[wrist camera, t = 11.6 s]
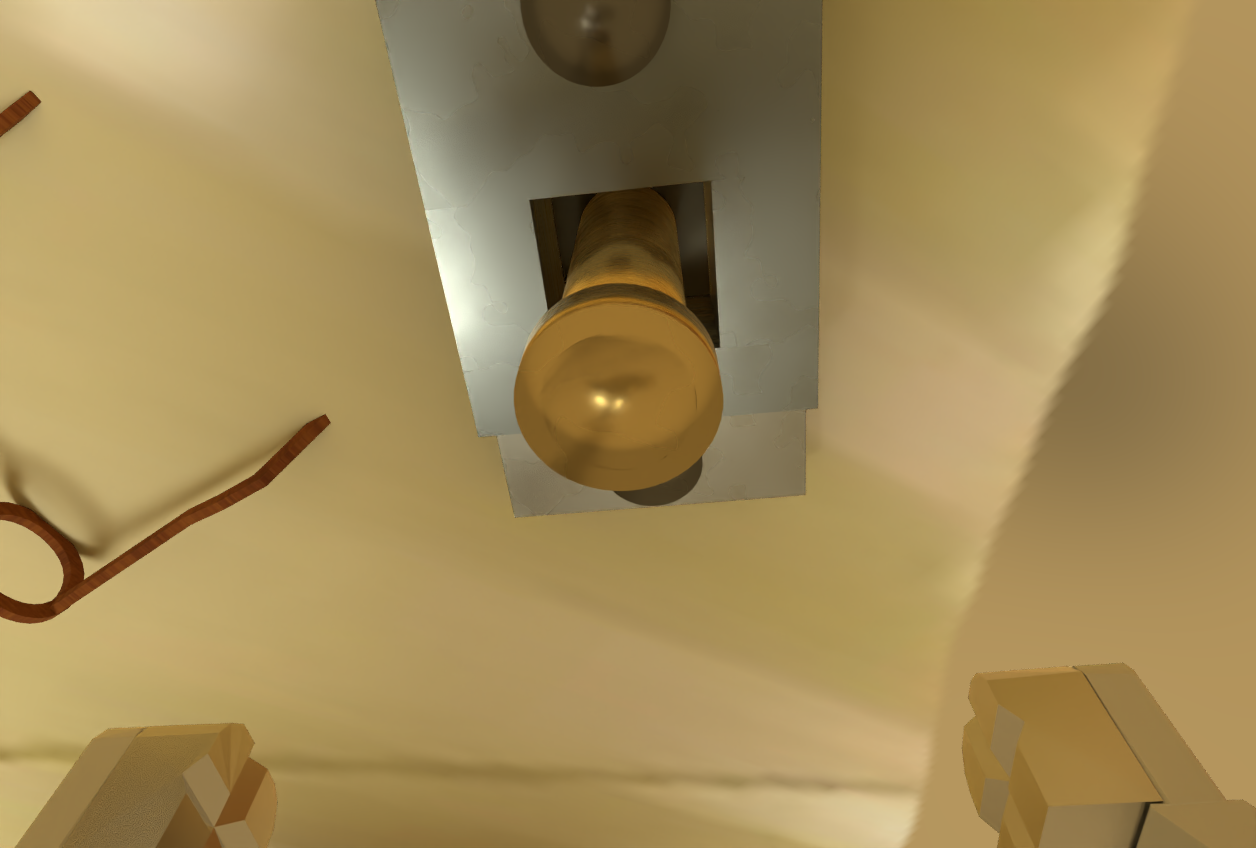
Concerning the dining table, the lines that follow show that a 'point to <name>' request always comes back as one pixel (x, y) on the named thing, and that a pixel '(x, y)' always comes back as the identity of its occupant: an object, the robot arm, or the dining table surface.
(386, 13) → the metal plate with knobs
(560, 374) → the pin
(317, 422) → the glasses
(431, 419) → the dining table surface
